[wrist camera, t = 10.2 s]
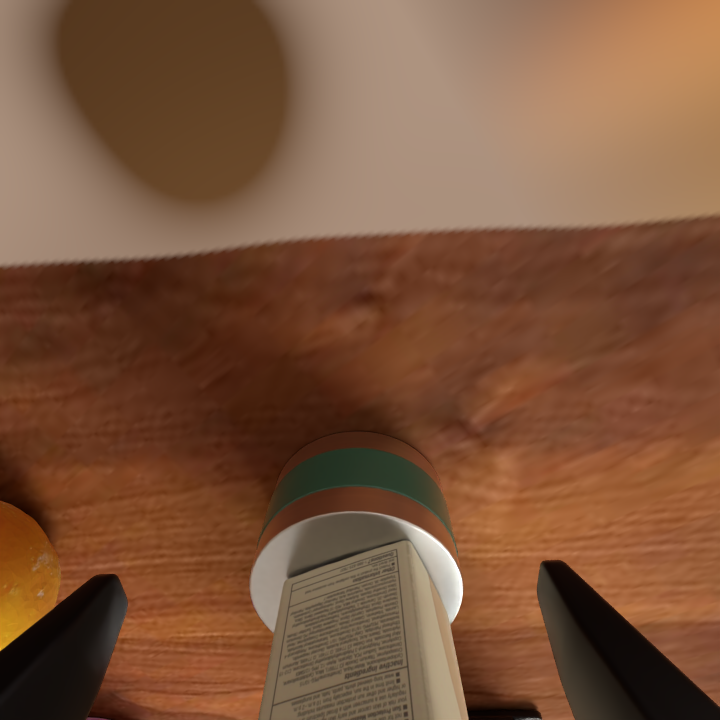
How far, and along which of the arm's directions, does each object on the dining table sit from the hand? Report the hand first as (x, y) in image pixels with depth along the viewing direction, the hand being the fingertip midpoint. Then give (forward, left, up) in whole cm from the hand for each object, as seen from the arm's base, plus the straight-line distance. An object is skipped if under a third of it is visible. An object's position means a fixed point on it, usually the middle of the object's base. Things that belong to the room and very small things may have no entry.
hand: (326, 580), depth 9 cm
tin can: (-7, 0, -10) cm, 12 cm away
